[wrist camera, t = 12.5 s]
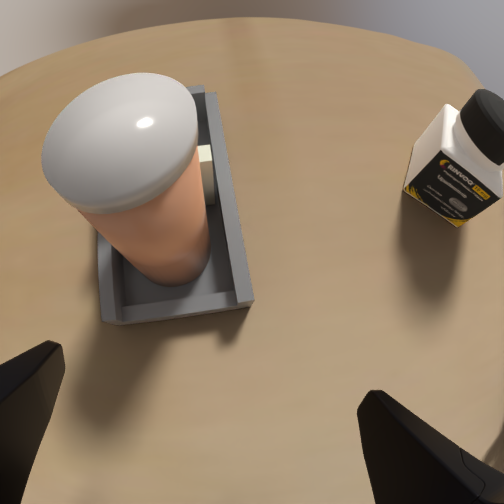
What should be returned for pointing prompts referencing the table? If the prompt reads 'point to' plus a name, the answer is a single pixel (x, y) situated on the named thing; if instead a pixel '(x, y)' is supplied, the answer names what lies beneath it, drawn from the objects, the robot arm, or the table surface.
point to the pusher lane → (220, 262)
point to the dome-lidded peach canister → (135, 172)
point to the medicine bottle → (460, 159)
